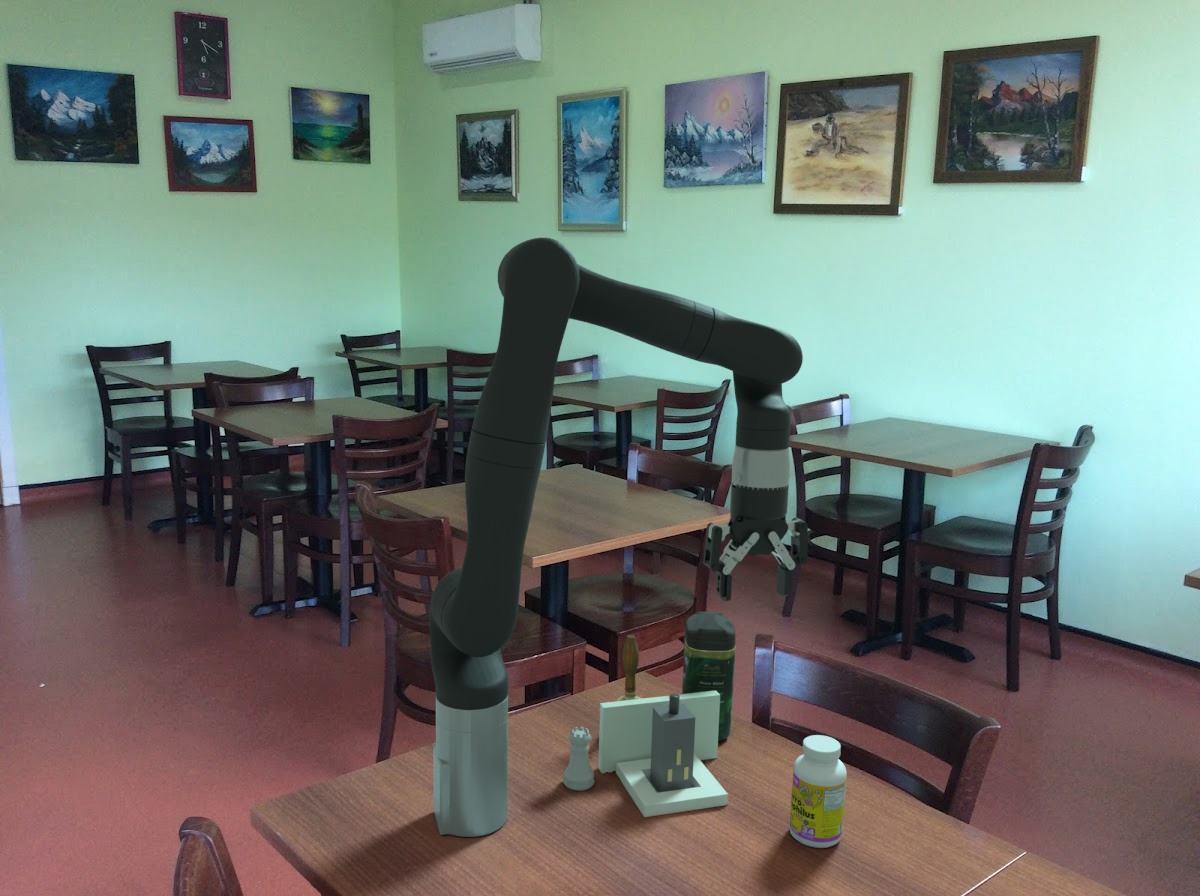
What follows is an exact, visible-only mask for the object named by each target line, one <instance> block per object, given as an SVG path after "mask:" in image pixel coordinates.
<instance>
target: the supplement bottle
mask: <svg viewBox="0 0 1200 896" xmlns="http://www.w3.org/2000/svg"><path fill="white" fill-rule="evenodd" d="M841 747H842V746H841V743H840V742H839V741H838V740H836V739H835V738H833V737H830V736H828V735H822V734H815V735H814V734H813V735H808V736H807V737H805V738H804V739H803V741H802V752H803V754H801V755H799V756H798V757H797V758H796V759H795V761H794V763H793V770H792V771H793V772H792V773H793V774H792V787H791V800H790V801H791V802H790V810H789V811H790V815H789V831H790V834H791V835H792V837H793V838H794V839H795V840H796V841H798V842H799V843H801V844H803V845H804V846H807V847H811V848H816V849H817V848H818V849H825V848H831V847H833V846H834V845H837V844H838V843H840V841H841V838H842V835H843V828H844V827H843V824H844V812H845V799H846V786H847V775H848V773H847V768H846V766H845V764H844V763H843V762H842V761H841V760H840V759H839V758H840V757H841Z"/></svg>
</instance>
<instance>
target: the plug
mask: <svg viewBox="0 0 1200 896" xmlns="http://www.w3.org/2000/svg"><path fill="white" fill-rule="evenodd" d="M679 695H680V694H678V693H671V694H669V695H668V696H669V705H667V706H658V707H653V718H652V745H651V772H650V781H651V782H652V783H653V785H654V786H655V788H656V789H657V790H658V792H667V791H674V790H681V789H688V788H692V782H693V760H694V738H695V717H694V715H693V714H692V713H691V712H690V711H689V710H688V709H687V708H686V707H685V705H684V704H679V701H680V696H679Z"/></svg>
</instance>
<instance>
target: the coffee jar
mask: <svg viewBox="0 0 1200 896" xmlns="http://www.w3.org/2000/svg"><path fill="white" fill-rule="evenodd" d="M684 627H685V630H684V631H685V632H684V646H683V647H684V649H683V650H684V651H683V666H682V686H681V688H682V690H681V691H682V692H681V694H689V693H698V692H707V691H717V692H718V693H719V694H720V710H719V730H718V741H721V740H722V741H723V740H726V739H727V738H728V737H729V736H730V734H731V727H732V710H733V709H732V708H733V694H734V680H735V665H736V662H735V661H736V644H737V642H736V641H737V640H736V634H737V633H736V628H735V625H734V623H733V621H732V620H730V619H729V618H728V617H727V616H725V615H724V614H723V613H722V612H717V611H716V612H714V611H696V612H695V613H694V614H692V615H690V616H689V617H688V618H687V619H686V623H685V624H684Z"/></svg>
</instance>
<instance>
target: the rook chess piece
mask: <svg viewBox="0 0 1200 896" xmlns="http://www.w3.org/2000/svg"><path fill="white" fill-rule="evenodd" d="M567 738H568V741H569V742H570V746H569V749H570V757H569V763H568V764H567V766H566V769H564V772H563V779H562V782H563V784H564V786H565V787H566V788H567V789H568V790H572V791H577V792H583V791H587V790H589V789H591V788H592V787H593V786H594V785H595V782H596V781H595V778H594V777H595V772H594V770H593V769H592V766H591V764H590V760H589V759H590V757H589V750H590V748H591V746H590V745H589V743H590V741H591V740H592V738H593V737H592V734H590V731H589V729H588V728H587V727H586V728H584V726H580V727H579V729H578V727H577V726H575V727H573V729H572V728H571V730H570V733H569V734H568V737H567Z"/></svg>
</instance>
